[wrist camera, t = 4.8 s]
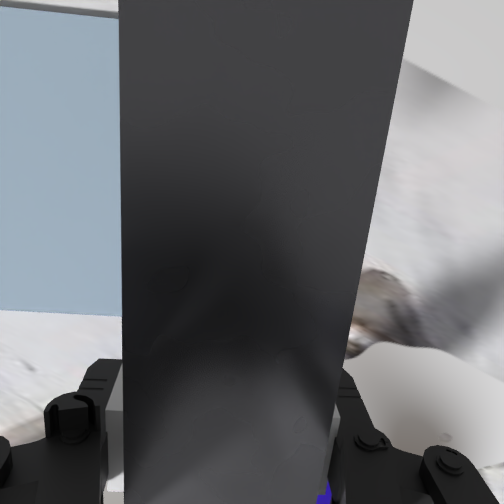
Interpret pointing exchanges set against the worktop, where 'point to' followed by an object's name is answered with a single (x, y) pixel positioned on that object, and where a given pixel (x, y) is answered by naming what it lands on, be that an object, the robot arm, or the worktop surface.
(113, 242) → the mat
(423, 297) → the worktop surface
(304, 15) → the rail
